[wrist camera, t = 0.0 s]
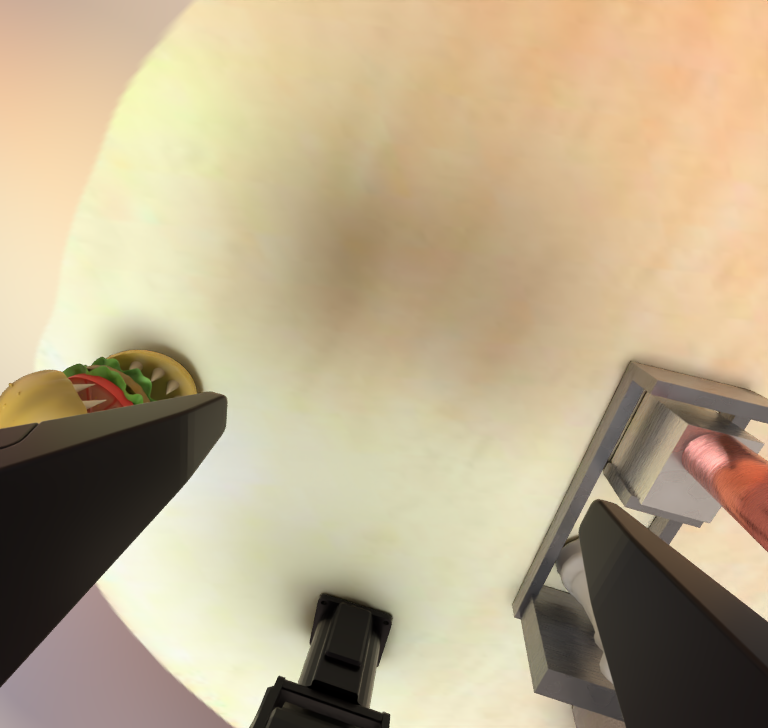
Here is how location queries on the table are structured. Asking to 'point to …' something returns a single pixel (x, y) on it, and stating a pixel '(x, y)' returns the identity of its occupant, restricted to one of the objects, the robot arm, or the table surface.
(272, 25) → the table surface
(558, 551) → the press bed
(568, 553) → the rook chess piece
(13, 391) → the hamburger
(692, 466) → the ram
